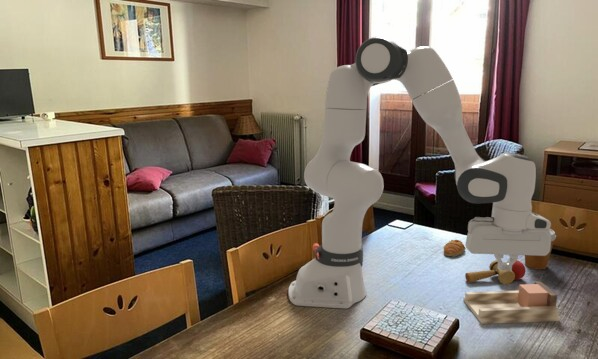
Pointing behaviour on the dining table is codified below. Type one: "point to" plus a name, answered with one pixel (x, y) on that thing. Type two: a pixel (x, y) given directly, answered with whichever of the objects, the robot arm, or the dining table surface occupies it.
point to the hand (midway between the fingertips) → (504, 269)
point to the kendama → (499, 273)
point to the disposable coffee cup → (540, 257)
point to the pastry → (454, 248)
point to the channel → (510, 307)
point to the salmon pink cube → (532, 295)
